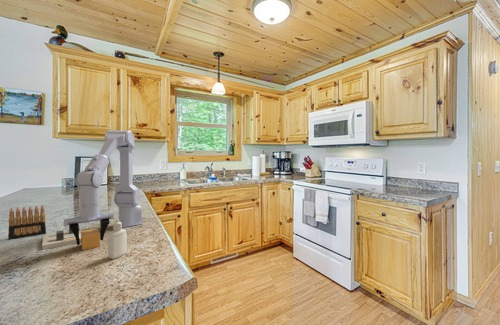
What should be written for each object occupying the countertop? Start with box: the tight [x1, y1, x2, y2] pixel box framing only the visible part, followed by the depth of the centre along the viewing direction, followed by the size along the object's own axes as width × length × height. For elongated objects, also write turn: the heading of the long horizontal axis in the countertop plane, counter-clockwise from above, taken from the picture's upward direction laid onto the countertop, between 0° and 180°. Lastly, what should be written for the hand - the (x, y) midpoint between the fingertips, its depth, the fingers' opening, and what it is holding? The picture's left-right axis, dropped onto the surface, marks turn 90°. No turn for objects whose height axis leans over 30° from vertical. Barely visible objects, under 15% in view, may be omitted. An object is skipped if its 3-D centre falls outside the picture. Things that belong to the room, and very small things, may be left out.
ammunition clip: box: [7, 204, 47, 241], centre depth 90 cm, size 11×2×12 cm, turn 129°
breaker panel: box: [41, 228, 81, 251], centre depth 86 cm, size 11×13×2 cm
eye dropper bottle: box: [107, 218, 128, 260], centre depth 73 cm, size 4×6×12 cm
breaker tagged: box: [55, 229, 65, 241], centre depth 83 cm, size 2×3×3 cm, turn 40°
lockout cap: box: [80, 228, 101, 251], centre depth 81 cm, size 5×6×5 cm
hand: (90, 241), depth 81 cm, fingers open, 6 cm apart
